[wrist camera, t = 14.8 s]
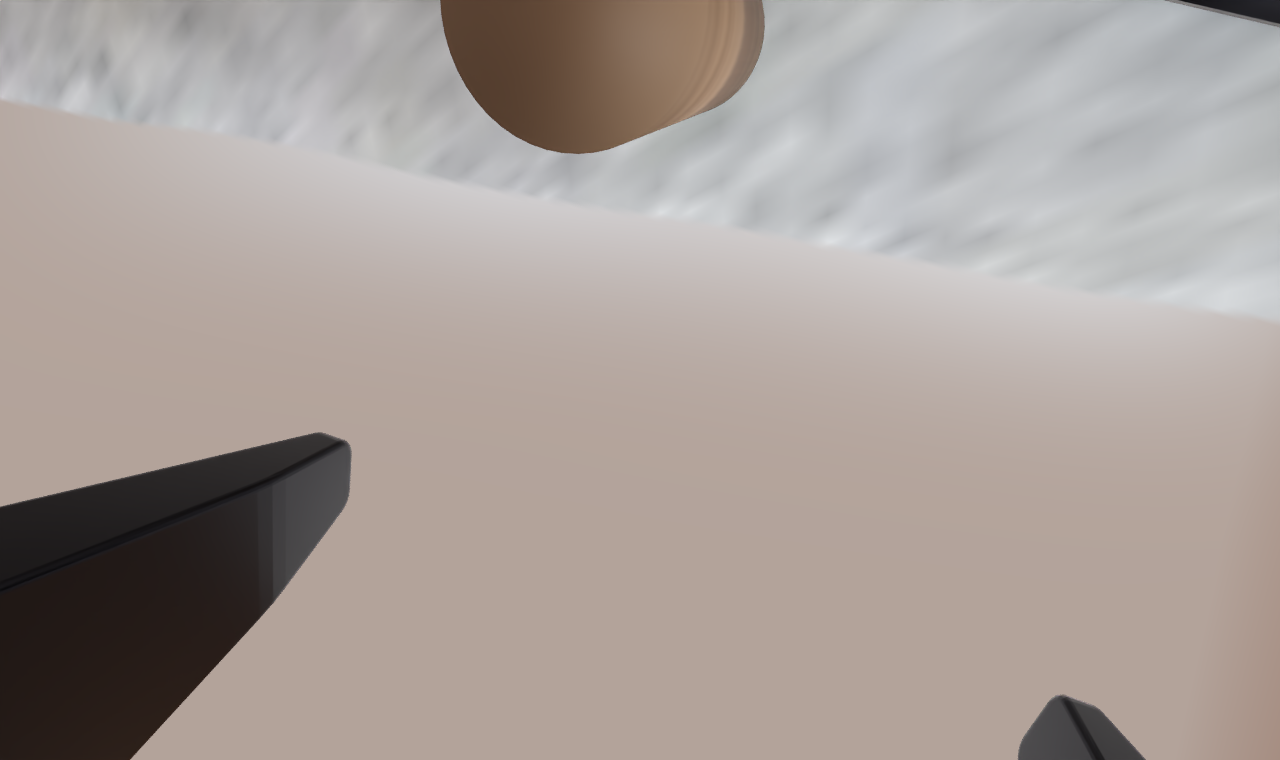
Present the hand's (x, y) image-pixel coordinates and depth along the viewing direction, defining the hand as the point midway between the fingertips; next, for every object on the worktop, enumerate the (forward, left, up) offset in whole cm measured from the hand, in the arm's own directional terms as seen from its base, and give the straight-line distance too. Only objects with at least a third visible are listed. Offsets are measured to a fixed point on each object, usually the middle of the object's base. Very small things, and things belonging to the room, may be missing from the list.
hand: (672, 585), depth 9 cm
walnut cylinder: (+4, -6, -13) cm, 15 cm away
